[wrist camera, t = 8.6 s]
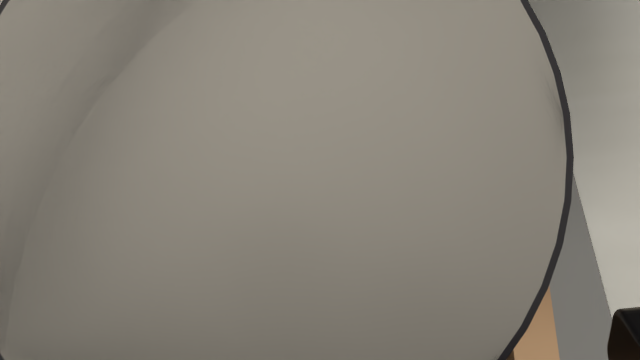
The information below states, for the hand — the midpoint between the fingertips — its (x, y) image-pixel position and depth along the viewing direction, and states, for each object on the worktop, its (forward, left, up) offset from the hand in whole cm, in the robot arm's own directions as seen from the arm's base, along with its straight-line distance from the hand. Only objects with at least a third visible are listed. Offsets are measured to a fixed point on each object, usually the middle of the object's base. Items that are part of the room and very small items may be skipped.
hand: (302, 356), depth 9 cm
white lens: (+1, -2, -8) cm, 9 cm away
